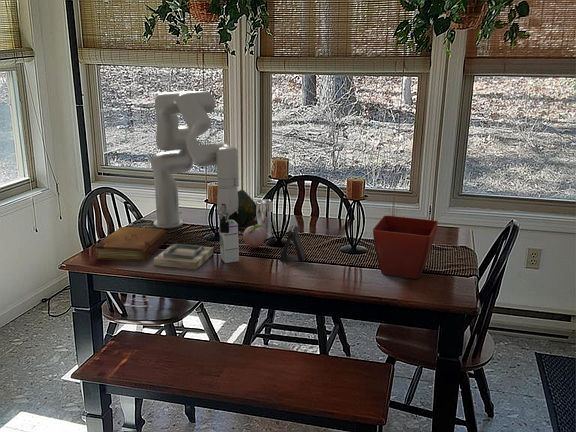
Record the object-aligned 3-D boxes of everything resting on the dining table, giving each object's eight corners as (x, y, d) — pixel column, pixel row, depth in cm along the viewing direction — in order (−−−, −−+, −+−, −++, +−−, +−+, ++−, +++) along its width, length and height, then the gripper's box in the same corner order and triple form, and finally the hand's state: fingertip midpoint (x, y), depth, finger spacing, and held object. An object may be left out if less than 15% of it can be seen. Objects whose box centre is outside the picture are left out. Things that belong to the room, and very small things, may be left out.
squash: (225, 218, 243) (246, 189, 245) (212, 210, 256) (232, 183, 258) (249, 235, 250) (269, 207, 252) (235, 227, 263) (254, 201, 265)
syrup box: (239, 261, 211) (238, 223, 206) (223, 263, 209) (222, 224, 204) (235, 256, 216) (234, 218, 212) (219, 258, 214) (218, 220, 209)
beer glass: (274, 234, 240) (274, 199, 236) (272, 240, 233) (271, 204, 229) (257, 233, 241) (257, 198, 236) (254, 239, 234) (254, 203, 230)
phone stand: (305, 256, 216) (306, 226, 212) (303, 262, 210) (304, 231, 206) (282, 255, 217) (282, 224, 214) (279, 260, 211) (279, 229, 208)
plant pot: (382, 258, 215) (384, 214, 210) (434, 265, 208) (438, 220, 203) (369, 276, 198) (372, 229, 193) (426, 285, 191) (430, 236, 186)
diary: (145, 263, 209) (143, 248, 208) (96, 261, 212) (94, 246, 210) (166, 242, 231) (165, 228, 229) (122, 240, 234) (120, 226, 232)
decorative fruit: (249, 243, 229) (248, 219, 227) (268, 245, 227) (268, 221, 224) (239, 250, 221) (239, 225, 218) (259, 253, 218) (259, 228, 215)
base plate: (173, 249, 221) (173, 240, 220) (213, 253, 218) (212, 244, 217) (154, 264, 207) (153, 255, 206) (196, 269, 203) (195, 259, 202)
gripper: (226, 176, 213) (227, 221, 217) (208, 186, 196) (210, 235, 201) (245, 177, 211) (247, 222, 215) (229, 188, 195) (231, 236, 199)
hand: (229, 228), depth 208 cm, fingers open, 9 cm apart
